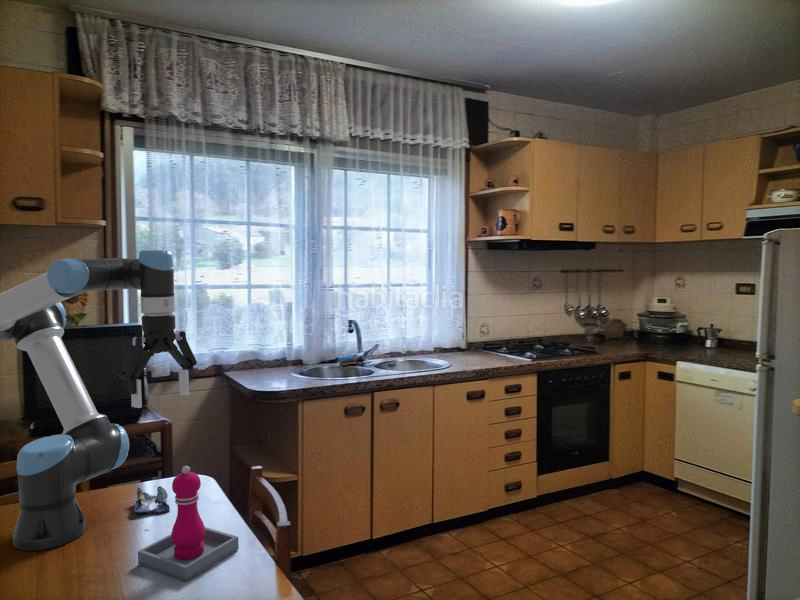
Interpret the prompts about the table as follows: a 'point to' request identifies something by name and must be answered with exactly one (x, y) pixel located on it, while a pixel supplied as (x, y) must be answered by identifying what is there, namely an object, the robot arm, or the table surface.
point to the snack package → (146, 500)
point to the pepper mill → (187, 517)
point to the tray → (165, 562)
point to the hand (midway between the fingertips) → (161, 400)
